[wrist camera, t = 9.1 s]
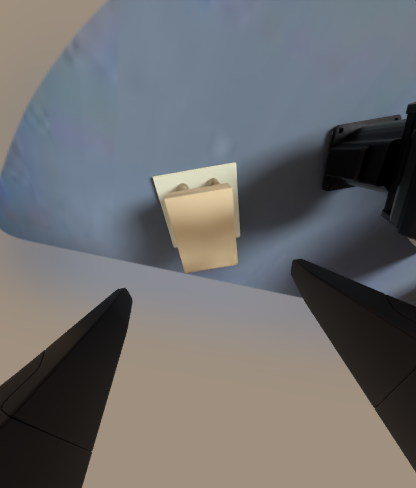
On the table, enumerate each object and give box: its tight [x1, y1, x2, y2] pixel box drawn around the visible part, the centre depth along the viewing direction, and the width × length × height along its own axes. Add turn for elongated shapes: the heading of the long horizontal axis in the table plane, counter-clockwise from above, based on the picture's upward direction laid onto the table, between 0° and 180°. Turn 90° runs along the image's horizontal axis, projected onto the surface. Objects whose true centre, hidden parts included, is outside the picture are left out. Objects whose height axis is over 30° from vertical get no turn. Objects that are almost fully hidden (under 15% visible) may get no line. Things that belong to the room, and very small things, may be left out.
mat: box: [153, 162, 240, 248], centre depth 20 cm, size 9×9×1 cm
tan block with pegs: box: [164, 178, 238, 273], centre depth 17 cm, size 7×5×7 cm
